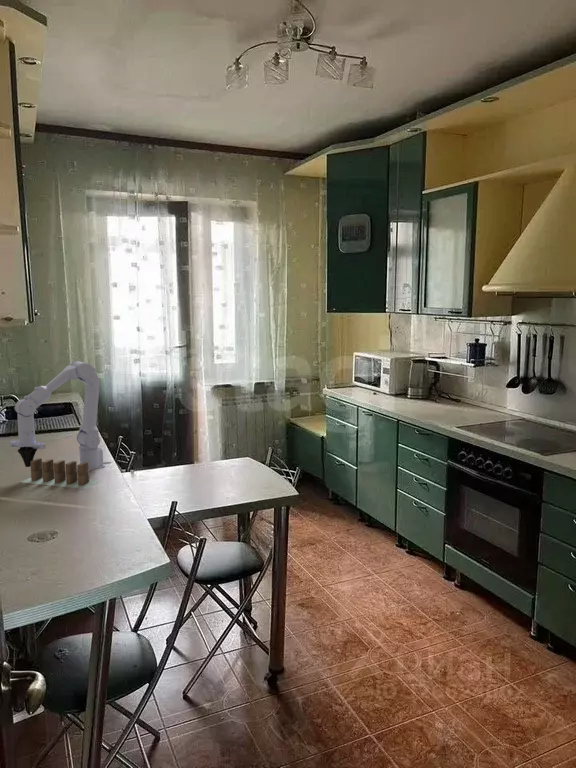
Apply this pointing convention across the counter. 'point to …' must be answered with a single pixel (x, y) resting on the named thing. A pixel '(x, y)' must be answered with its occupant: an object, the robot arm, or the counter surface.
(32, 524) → the counter surface
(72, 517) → the counter surface
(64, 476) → the domino
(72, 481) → the domino
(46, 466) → the domino
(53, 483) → the board
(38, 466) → the domino
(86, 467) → the domino end
